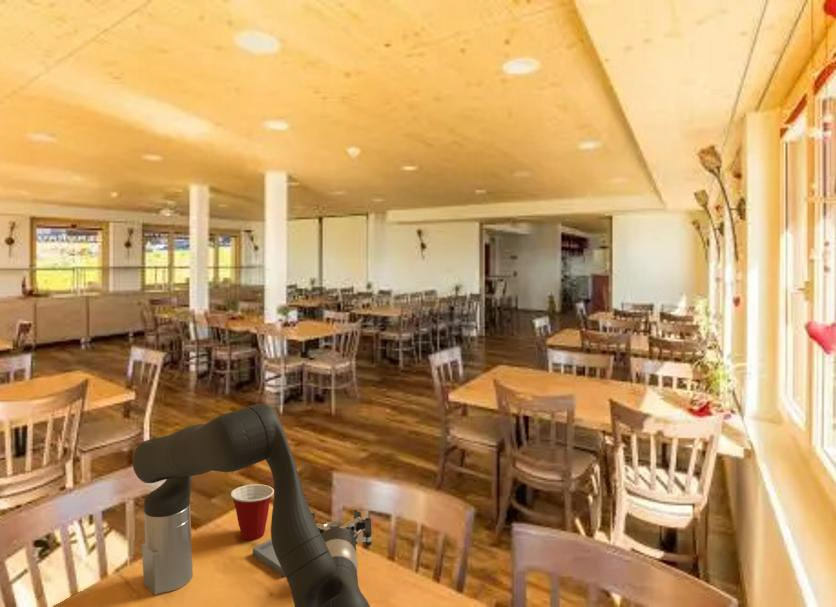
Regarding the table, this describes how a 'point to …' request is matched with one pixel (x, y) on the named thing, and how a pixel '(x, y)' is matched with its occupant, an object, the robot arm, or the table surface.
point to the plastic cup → (252, 509)
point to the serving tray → (268, 556)
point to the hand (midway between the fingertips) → (334, 515)
